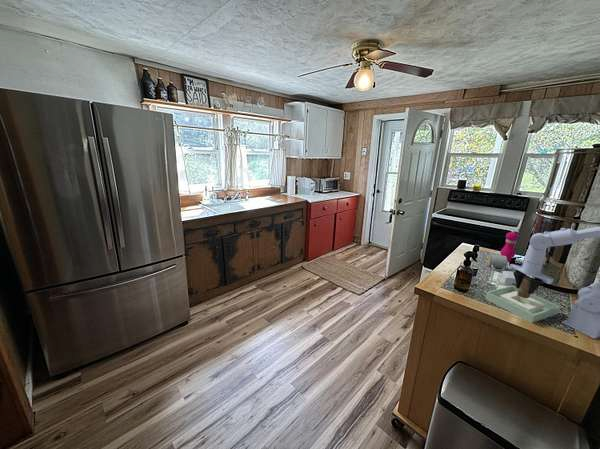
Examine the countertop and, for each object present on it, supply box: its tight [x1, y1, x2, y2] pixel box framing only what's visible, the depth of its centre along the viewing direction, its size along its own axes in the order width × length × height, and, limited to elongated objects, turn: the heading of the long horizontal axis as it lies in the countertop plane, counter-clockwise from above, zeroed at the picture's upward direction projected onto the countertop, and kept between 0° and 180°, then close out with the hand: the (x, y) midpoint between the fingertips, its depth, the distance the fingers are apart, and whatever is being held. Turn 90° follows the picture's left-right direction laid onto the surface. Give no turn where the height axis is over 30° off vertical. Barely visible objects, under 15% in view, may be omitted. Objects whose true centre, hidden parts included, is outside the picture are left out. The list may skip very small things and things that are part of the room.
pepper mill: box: [499, 229, 519, 263], centre depth 155 cm, size 7×7×20 cm
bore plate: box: [499, 291, 545, 314], centre depth 108 cm, size 11×11×3 cm
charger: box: [500, 270, 516, 287], centre depth 131 cm, size 5×9×15 cm
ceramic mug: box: [487, 254, 508, 273], centre depth 145 cm, size 11×8×8 cm
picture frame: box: [484, 285, 562, 324], centre depth 108 cm, size 18×18×4 cm
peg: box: [517, 276, 532, 298], centre depth 106 cm, size 4×4×8 cm
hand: (524, 290), depth 107 cm, fingers closed on peg, 4 cm apart
